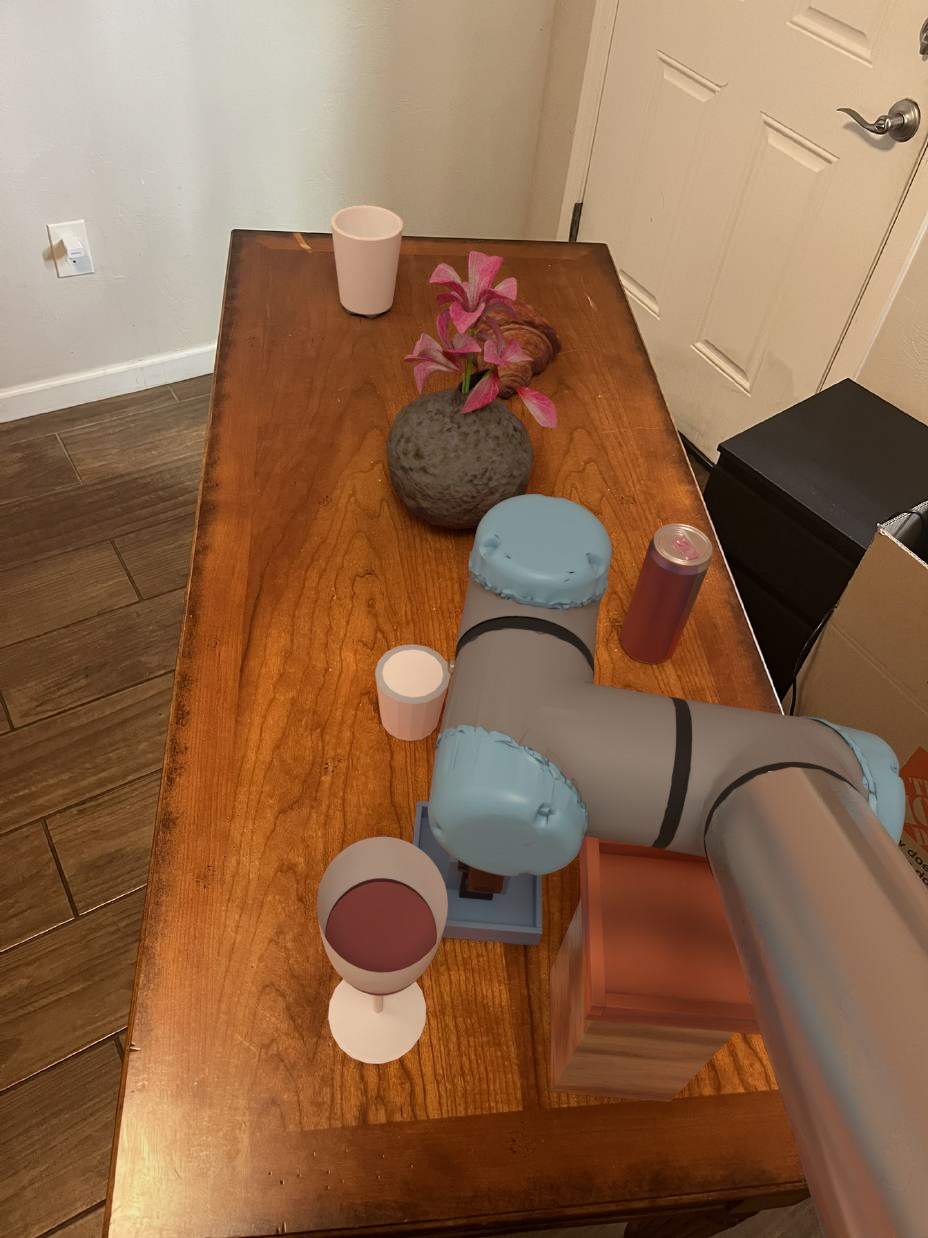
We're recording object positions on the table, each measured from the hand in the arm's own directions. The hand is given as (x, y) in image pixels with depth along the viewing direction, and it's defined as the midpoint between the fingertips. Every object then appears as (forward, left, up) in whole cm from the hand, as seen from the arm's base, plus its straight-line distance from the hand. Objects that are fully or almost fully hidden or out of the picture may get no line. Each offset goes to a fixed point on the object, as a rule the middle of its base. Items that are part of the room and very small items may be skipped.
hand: (477, 862), depth 79 cm
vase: (+47, +4, -3) cm, 47 cm away
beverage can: (+28, -17, -3) cm, 33 cm away
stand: (-12, -11, -3) cm, 17 cm away
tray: (0, 0, -3) cm, 3 cm away
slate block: (0, 0, 0) cm, 0 cm away
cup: (+88, +20, -3) cm, 90 cm away
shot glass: (+16, +7, -3) cm, 18 cm away
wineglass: (-12, +7, -3) cm, 14 cm away
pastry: (+79, -1, -3) cm, 79 cm away
